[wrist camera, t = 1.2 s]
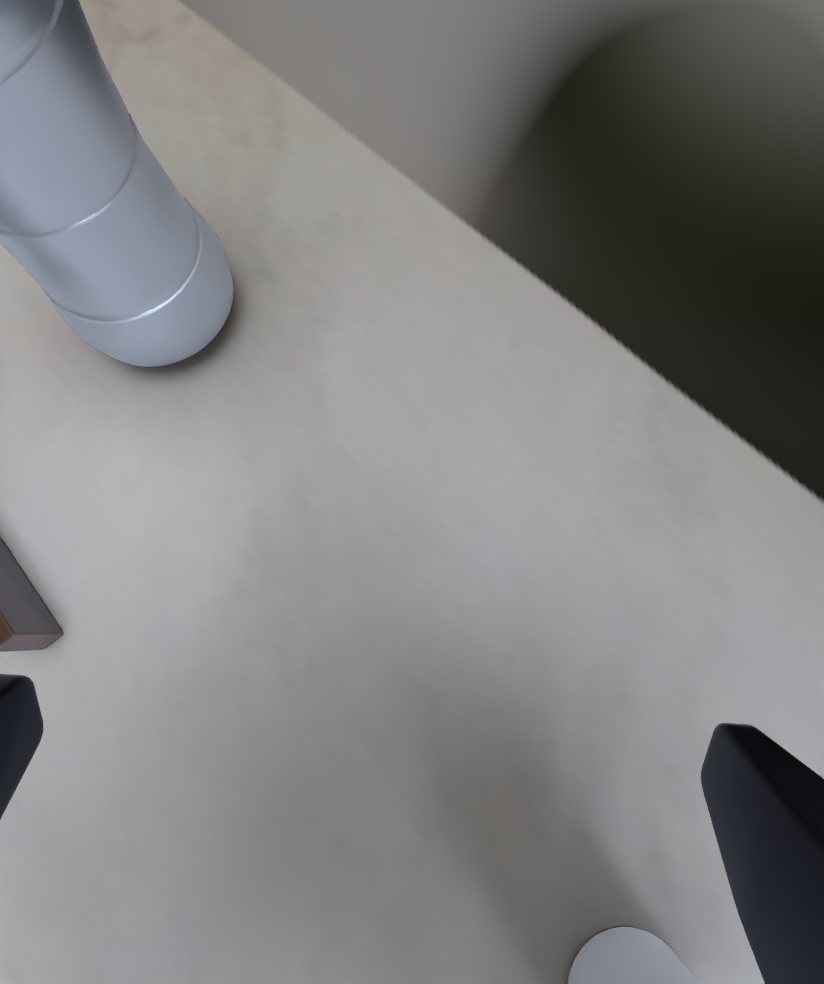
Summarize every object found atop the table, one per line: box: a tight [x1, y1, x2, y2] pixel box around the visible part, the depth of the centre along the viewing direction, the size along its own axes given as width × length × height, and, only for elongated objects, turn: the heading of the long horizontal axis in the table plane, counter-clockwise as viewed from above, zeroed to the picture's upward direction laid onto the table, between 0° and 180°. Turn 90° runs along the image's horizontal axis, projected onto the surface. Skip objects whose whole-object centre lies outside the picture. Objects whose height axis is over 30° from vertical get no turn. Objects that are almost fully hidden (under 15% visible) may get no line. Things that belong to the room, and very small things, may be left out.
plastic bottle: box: [0, 0, 233, 367], centre depth 17 cm, size 6×7×20 cm
